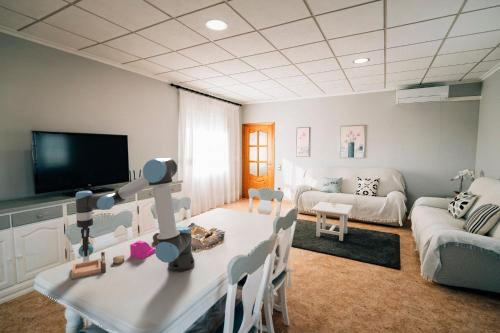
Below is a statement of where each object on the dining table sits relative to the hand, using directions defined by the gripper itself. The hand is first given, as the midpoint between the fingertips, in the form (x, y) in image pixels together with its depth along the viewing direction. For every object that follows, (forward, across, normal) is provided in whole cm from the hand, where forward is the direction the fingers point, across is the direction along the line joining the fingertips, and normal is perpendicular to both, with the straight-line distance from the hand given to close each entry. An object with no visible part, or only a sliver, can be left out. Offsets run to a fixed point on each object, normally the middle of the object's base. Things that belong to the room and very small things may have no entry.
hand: (86, 258), depth 136 cm
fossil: (+7, +21, -45) cm, 50 cm away
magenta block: (+7, +6, -31) cm, 32 cm away
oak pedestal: (+7, +2, -16) cm, 18 cm away
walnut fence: (+7, +1, -8) cm, 11 cm away
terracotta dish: (+7, 0, 0) cm, 7 cm away
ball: (-5, 0, 0) cm, 5 cm away
